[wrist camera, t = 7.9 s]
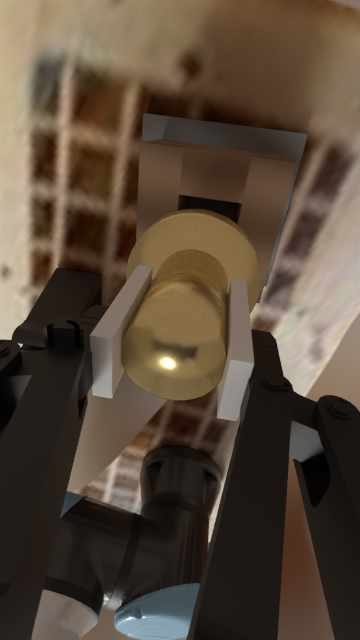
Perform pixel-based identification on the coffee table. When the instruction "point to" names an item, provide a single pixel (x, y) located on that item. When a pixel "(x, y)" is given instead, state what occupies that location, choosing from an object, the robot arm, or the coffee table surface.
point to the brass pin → (186, 302)
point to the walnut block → (219, 176)
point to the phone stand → (59, 305)
